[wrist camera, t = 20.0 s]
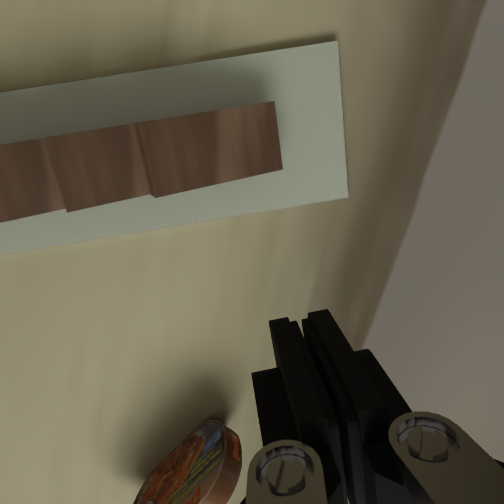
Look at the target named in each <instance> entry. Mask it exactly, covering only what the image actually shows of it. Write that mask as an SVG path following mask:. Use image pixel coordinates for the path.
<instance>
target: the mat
mask: <svg viewBox="0 0 504 504" xmlns="http://www.w3.org/2000/svg"><path fill="white" fill-rule="evenodd" d="M271 101H275V108H276V116H277V124H278V132H279V140H280V148H281V157H282V165H283V170H278V171H274V172H270V173H265V174H261V175H256V176H252V177H247V178H243V179H238V180H234V181H230V182H225V183H221V184H216V185H212V186H207V187H203V188H198V189H194V190H190V191H185V192H181V193H176V194H172V195H167V196H163V197H158V198H154V197H153V196H152V195H145V196H141V197H136V198H132V199H127V200H123V201H118V202H113V203H109V204H104V205H100V206H95V207H91V208H86V209H82V210H77V211H73V212H68V213H67V211H66V209H62V210H57V211H53V212H48V213H43V214H39V215H34V216H30V217H25V218H21V219H16V220H11V221H7V222H2V223H0V255H3V254H9V253H15V252H22V251H28V250H34V249H40V248H46V247H52V246H58V245H64V244H70V243H76V242H82V241H88V240H94V239H100V238H106V237H112V236H118V235H124V234H130V233H136V232H142V231H148V230H154V229H160V228H166V227H173V226H179V225H185V224H191V223H197V222H203V221H209V220H215V219H221V218H227V217H233V216H239V215H245V214H251V213H257V212H263V211H269V210H275V209H281V208H287V207H293V206H299V205H305V204H311V203H318V202H324V201H330V200H336V199H342V198H348V187H347V172H346V157H345V142H344V128H343V113H342V98H341V83H340V68H339V53H338V41H332V42H326V43H319V44H313V45H306V46H300V47H293V48H287V49H280V50H274V51H267V52H261V53H254V54H248V55H241V56H235V57H228V58H222V59H215V60H209V61H202V62H196V63H189V64H183V65H176V66H170V67H163V68H157V69H150V70H144V71H137V72H131V73H124V74H118V75H111V76H105V77H98V78H92V79H85V80H79V81H72V82H66V83H59V84H53V85H46V86H40V87H33V88H27V89H20V90H14V91H7V92H1V93H0V145H2V144H8V143H15V142H21V141H27V140H34V139H40V138H43V137H50V136H56V135H62V134H69V133H75V132H81V131H88V130H94V129H100V128H106V127H113V126H119V125H125V124H132V123H137V122H144V121H150V120H156V119H163V118H169V117H175V116H182V115H188V114H194V113H201V112H207V111H213V110H220V109H226V108H232V107H239V106H245V105H252V104H258V103H264V102H271Z"/></svg>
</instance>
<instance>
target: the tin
mask: <svg viewBox="0 0 504 504" xmlns="http://www.w3.org/2000/svg"><path fill="white" fill-rule="evenodd" d="M241 468H242V450H241V443H240V439H239V437H238V435H237V434H236V433H235V432H234V431H232V430H231V429H229V428H228V427H226V426H224V425H223V424H222V423H221V422H220V421H218V420H215V419H211V420H208V421H205V422H203V423H202V424H201V425H199V426H198V427H197V428H196V429H195V430H194V431H193V432H192V433H191V434H190V435H189V436H188V437H187V438H186V439H185V440H184V441H183V442H182V443H181V444H180V445H179V446H178V447H177V448H176V449H175V450H174V451H173V452H172V453H171V454H170V455H169V456H168V457H167V458H166V459H165V460H164V461H163V462H162V463H161V464H160V465H159V466H158V467H157V468H156V469H155V470H154V471H153V472H152V473H151V474H150V475H149V477H148V478H147V479H146V481H145V482H144V484H143V486H142V487H141V489H140V491H139V493H138V494H137V497H136V499H135V501H134V503H133V504H226V503H227V502H228V500H229V499H230V497H231V495H232V493H233V491H234V489H235V487H236V485H237V482H238V479H239V476H240V472H241Z"/></svg>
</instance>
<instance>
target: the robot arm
mask: <svg viewBox="0 0 504 504" xmlns="http://www.w3.org/2000/svg"><path fill="white" fill-rule="evenodd" d="M269 326H270V332H271V338H272V343H273V349H274V355H275V360H276V366H277V368H272V369H268V370H263V371H258V372H253V373H251V374H252V380H253V387H254V393H255V399H256V405H257V411H258V418H259V424H260V430H261V436H262V442H263V448H262V449H260V450H259V451H258V452H257V453H256V454H255V455H254V457H253V459H252V460H251V462H250V465H249V469H248V474H247V489H246V497H245V498H244V499H243V501H242V502H241V503H240V504H348V500H349V503H350V504H504V463H503V462H500V461H498V460H495V459H493V458H492V457H491V456H489V454H488V453H486V451H484V450H483V449H482V448H481V447H480V446H479V445H478V444H477V443H476V442H475V441H474V440H473V439H472V438H471V437H470V436H469V435H468V434H467V433H466V432H465V431H464V430H462V429H461V428H460V427H459V426H458V425H457V424H455V423H454V422H452V421H451V420H450V419H448V418H446V417H443V416H441V415H439V414H435V413H431V412H419V411H418V412H417V411H415V412H412V410H411V409H410V408H409V406H408V405H407V403H406V402H405V400H404V399H403V397H402V396H401V394H400V393H399V392H398V390H397V389H396V387H395V386H394V384H393V383H392V381H391V380H390V378H389V377H388V376H387V374H386V373H385V371H384V370H383V368H382V367H381V365H380V364H379V362H378V361H377V360H376V358H375V357H374V355H373V354H372V352H371V351H370V350H369V349H364V350H359V351H353V349H352V348H351V346H350V344H349V343H348V341H347V340H346V338H345V336H344V335H343V333H342V331H341V330H340V328H339V326H338V325H337V323H336V322H335V320H334V318H333V317H332V315H331V313H330V312H329V310H328V309H325V310H320V311H315V312H310V313H308V318H306V319H302V327H303V334H304V337H303V335H302V332H301V330H300V328H299V325H298V323H297V321H292V322H290V321H289V319H288V317H285V318H280V319H275V320H271V321H269ZM347 498H348V500H347Z"/></svg>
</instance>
